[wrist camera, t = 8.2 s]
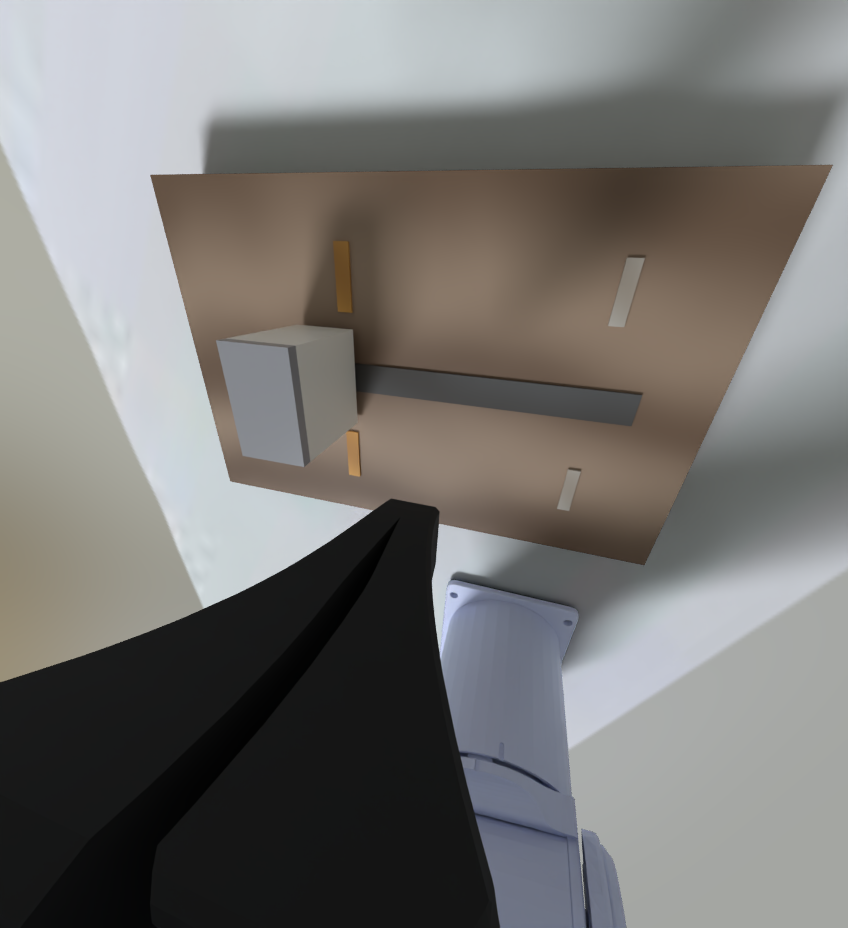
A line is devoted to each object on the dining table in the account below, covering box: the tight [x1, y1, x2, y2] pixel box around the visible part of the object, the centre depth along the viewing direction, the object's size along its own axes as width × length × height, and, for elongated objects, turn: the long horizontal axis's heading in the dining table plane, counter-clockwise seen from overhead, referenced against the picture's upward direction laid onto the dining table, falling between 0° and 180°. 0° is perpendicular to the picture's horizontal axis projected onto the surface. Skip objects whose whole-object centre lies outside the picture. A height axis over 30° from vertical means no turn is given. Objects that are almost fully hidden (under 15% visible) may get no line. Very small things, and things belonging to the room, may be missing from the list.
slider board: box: [150, 165, 833, 565], centre depth 16 cm, size 14×22×3 cm, turn 87°
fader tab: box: [216, 325, 358, 467], centre depth 13 cm, size 4×2×4 cm, turn 177°
